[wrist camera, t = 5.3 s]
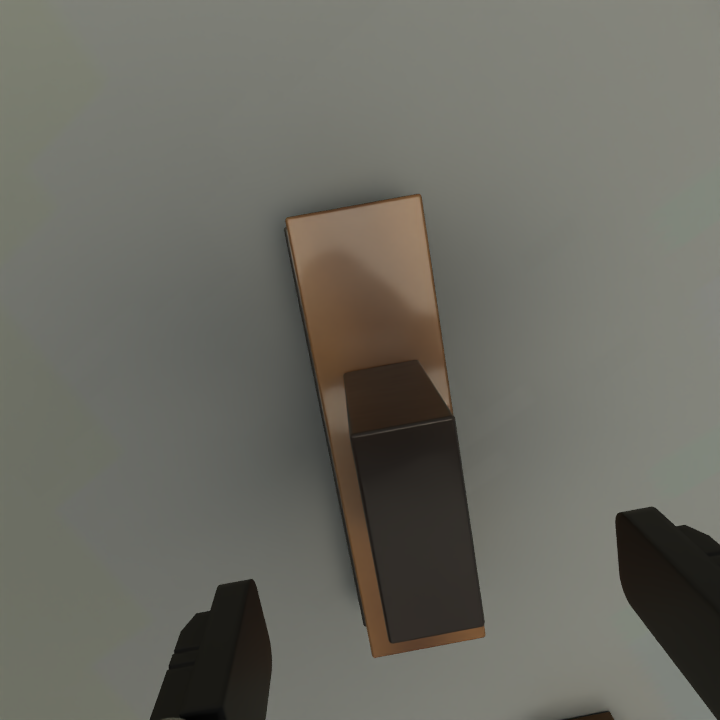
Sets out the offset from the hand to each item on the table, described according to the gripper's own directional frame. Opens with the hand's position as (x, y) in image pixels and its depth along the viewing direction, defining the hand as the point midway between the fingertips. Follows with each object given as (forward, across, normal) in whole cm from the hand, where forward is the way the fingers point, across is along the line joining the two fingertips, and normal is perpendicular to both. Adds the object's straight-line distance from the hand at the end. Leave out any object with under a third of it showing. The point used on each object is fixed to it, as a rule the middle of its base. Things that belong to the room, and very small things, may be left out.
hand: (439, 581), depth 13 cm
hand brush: (+12, 0, 0) cm, 12 cm away
